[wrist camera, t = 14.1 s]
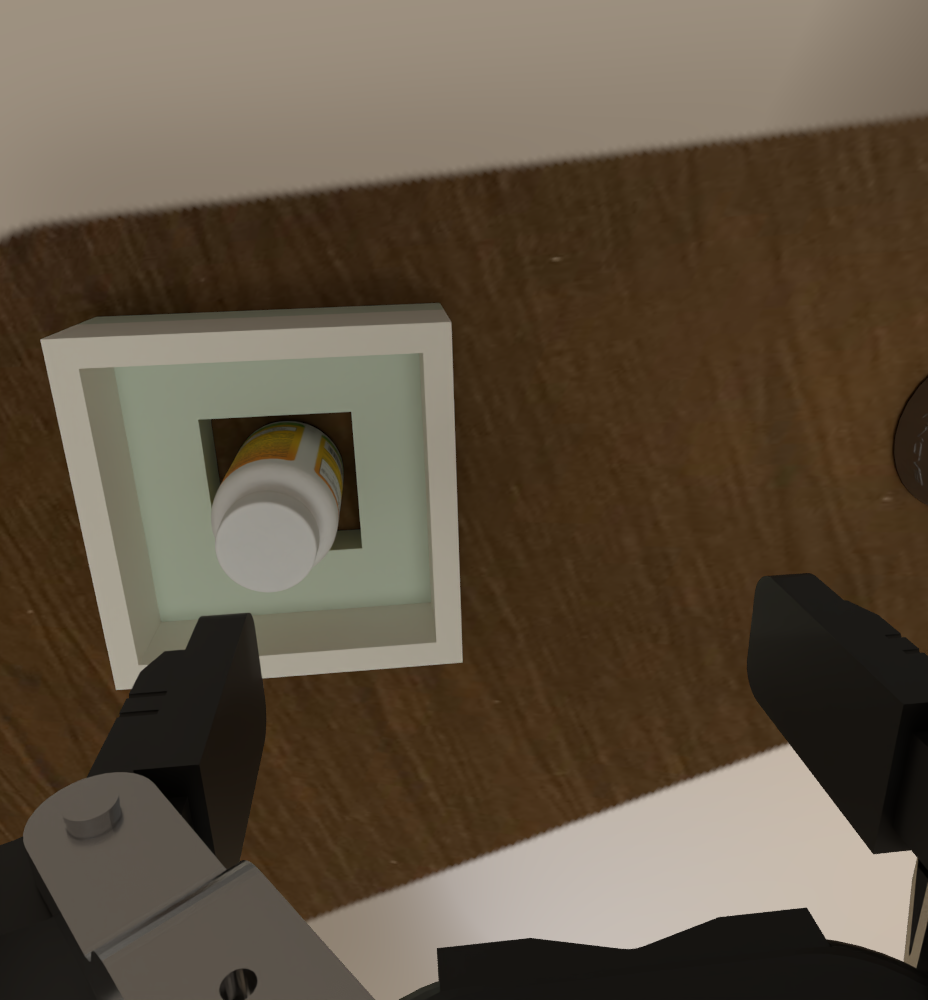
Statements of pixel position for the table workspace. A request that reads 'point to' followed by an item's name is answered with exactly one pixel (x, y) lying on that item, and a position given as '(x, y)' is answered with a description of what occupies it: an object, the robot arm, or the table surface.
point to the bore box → (195, 479)
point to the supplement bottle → (278, 506)
